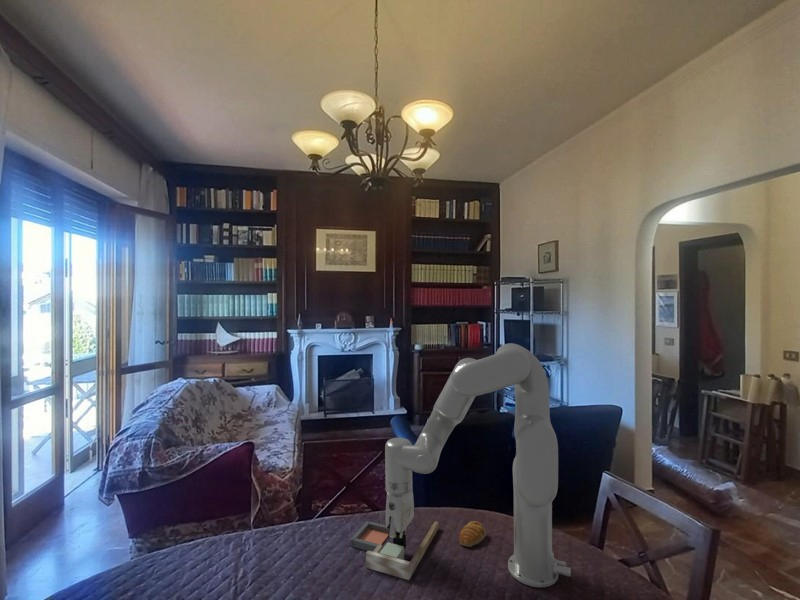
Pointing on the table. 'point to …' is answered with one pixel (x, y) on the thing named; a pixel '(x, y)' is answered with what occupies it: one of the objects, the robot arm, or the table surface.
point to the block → (393, 550)
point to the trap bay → (369, 536)
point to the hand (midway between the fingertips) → (399, 548)
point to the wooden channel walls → (398, 565)
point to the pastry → (472, 534)
